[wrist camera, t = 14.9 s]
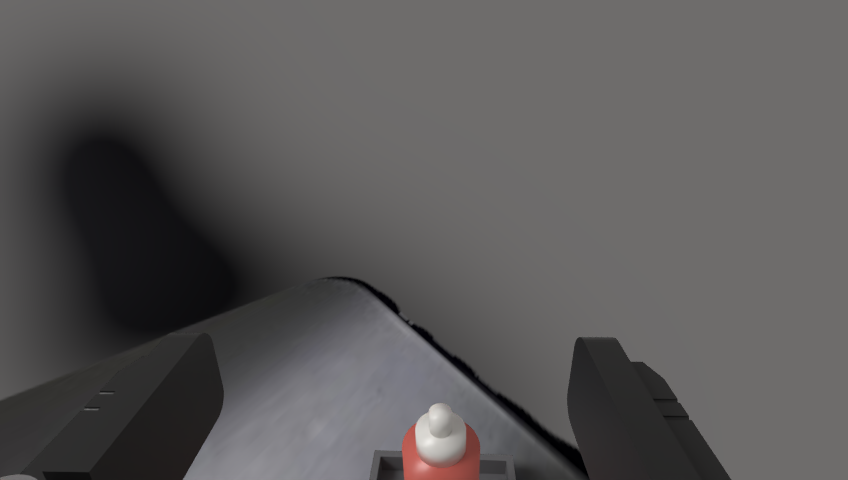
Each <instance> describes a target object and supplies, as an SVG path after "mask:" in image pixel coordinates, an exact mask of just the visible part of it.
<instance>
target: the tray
mask: <svg viewBox="0 0 848 480" xmlns="http://www.w3.org/2000/svg"><path fill="white" fill-rule="evenodd" d="M369 480H404V469H403V455H402V451H381V450H375V452H374V457H373V463H372V468H371V473H370V479H369ZM479 480H516V477H515V470H514V462H513V455H496V454H480V467H479Z"/></svg>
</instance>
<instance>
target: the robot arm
mask: <svg viewBox="0 0 848 480" xmlns="http://www.w3.org/2000/svg"><path fill="white" fill-rule="evenodd" d="M223 399H224V390H223V384H222V380H221V376H220V372H219V367H218V363H217V359H216V354H215V350H214V346H213V342H212V339H211V337H210V336H209V335H208V334H206V333H170V334H168V335H167V336H166V337H164V339H163V340H162V341H161V342H160V343H159V344H158V345H157V346H156V347H155V348H154V349H153V351H152V352H151V353H150V354H149V355H148V356H142V357H141V358H139V359H137V360H136V361H134V362H133V363H131V364H130V365H128V366H126V367H125V368H123V369H122V370H120V371H119V372H117V373H116V374H115V376H114V377H113V378H112V379H111V380H110V381H109V382H108V383H107V384H106V385H105V386H104V387H103V388H102V389H101V390H100V394H99V395H95V396H94V397H93V398H92V399H91V401H90V402H89V403H88V404H87V405H86V406H85V409H84V411H80V412H79V413H78V414H77V415H76V416H75V417H74V418H73V419H72V420H71V421H70V422H69V423H68V425H67V426H66V427H65V428H64V429H63V430H62V431H61V432H60V433H59V434H58V435H57V436H56V437H55V438H54V439H53V440H52V441H51V442H50V443H49V444H48V445H47V446H46V447H45V448H44V450H43V451H42V452H41V453H40V454H39V455H38V456H37V457H36V458H35V459H34V460H33V461H32V462H31V463H30V464H29V465H28V466H27V467H26V468H25V469H24V470H23V471H22V472H21V473H20V474H19V475H11V476H5V477H1V478H0V480H183V478H184V476H185V475H186V473H187V471H188V469H189V468H190V466H191V464H192V462H193V461H194V459H195V457H196V456H197V454H198V452H199V450H200V449H201V447H202V445H203V443H204V442H205V440H206V438H207V437H208V435H209V433H210V431H211V430H212V428H213V426H214V424H215V423H216V421H217V419H218V417H219V415H220V413H221V409H222V405H223ZM567 405H568V414H569V419H570V423H571V426H572V429H573V432H574V435H575V438H576V441H577V444H578V446H579V449H580V452H581V455H582V458H583V461H584V464H585V467H586V469H587V472H588V475H589V478H590V480H731V479H730V477H729V476H728V474H727V473H726V471H725V470H724V468H723V467H722V465H721V464H720V462H719V461H718V459H717V458H716V456H715V455H714V453H713V452H712V450H711V449H710V447H709V446H708V445H707V443H706V441H705V440H704V438H703V437H702V435H701V434H700V432H699V431H698V429H697V428H696V426H695V425H694V423H693V422H692V420H689V416H688V414H687V413H686V411H685V410H684V408H683V407H682V405H681V404H680V403H678V402H677V398H676V396H675V395H674V393H673V392H672V390H671V389H670V387H669V386H668V384H667V383H666V381H665V380H664V379H663V378H662V377H661V376H660V375H658V374H657V373H656V372H655V371H653V370H652V369H651V368H650V367H648V366H647V365H646V364H645V363H643V362H630V360H629V359H628V357H627V355H626V354H625V352H624V350H623V349H622V347H621V345H620V343H619V342H618V340H617V339H616V338H609V337H607V338H604V337H579V338H577V340H576V342H575V346H574V353H573V360H572V367H571V374H570V380H569V387H568V394H567Z"/></svg>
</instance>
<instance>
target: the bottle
mask: <svg viewBox="0 0 848 480" xmlns="http://www.w3.org/2000/svg"><path fill="white" fill-rule="evenodd" d="M402 455H403V469H404V480H479V467H480V443H479V440H478V437H477V435H476V433H475V432H474V430H473V429H472V428H471V427H470V426H469V425H467V424H466V423H465V422H464V421H463V420H462V419H461V417H459V416H458V415H457V414H455V413H453V412H452V410H451V408H450V407H449V406H448V405H446V404H444V403H437V404H434V405H432V406H431V407H430V409H429V412H428V413H426V414H424V415H423V416H422V417H421V418H420V419H419V420H418V422H417V423H416V424H414V425H413V426H412V427H411V428H410V429H409V430H408V432H407V433H406V435H405V437H404V440H403V444H402Z"/></svg>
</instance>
